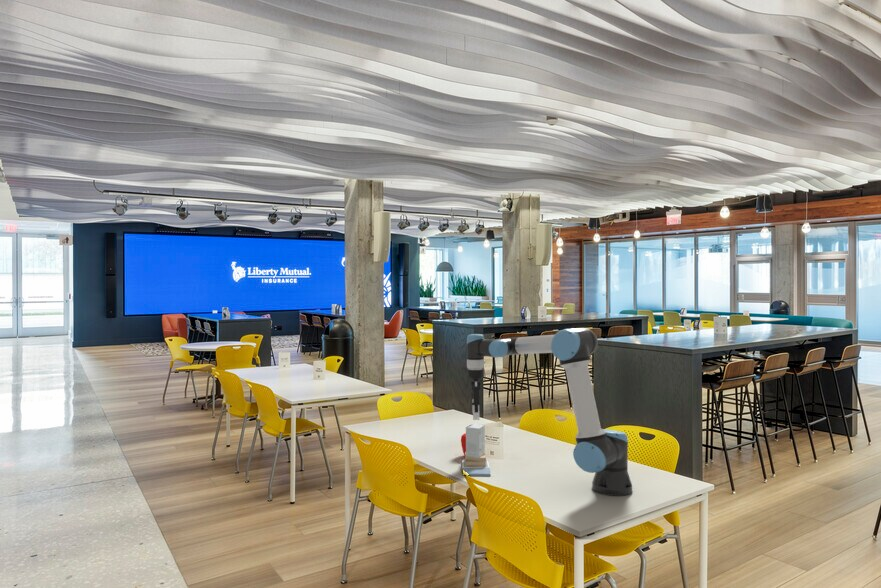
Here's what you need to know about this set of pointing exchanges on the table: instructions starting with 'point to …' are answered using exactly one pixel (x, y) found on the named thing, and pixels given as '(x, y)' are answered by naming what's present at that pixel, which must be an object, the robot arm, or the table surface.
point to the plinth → (475, 461)
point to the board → (477, 470)
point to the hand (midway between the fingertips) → (475, 416)
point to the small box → (475, 440)
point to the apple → (463, 443)
